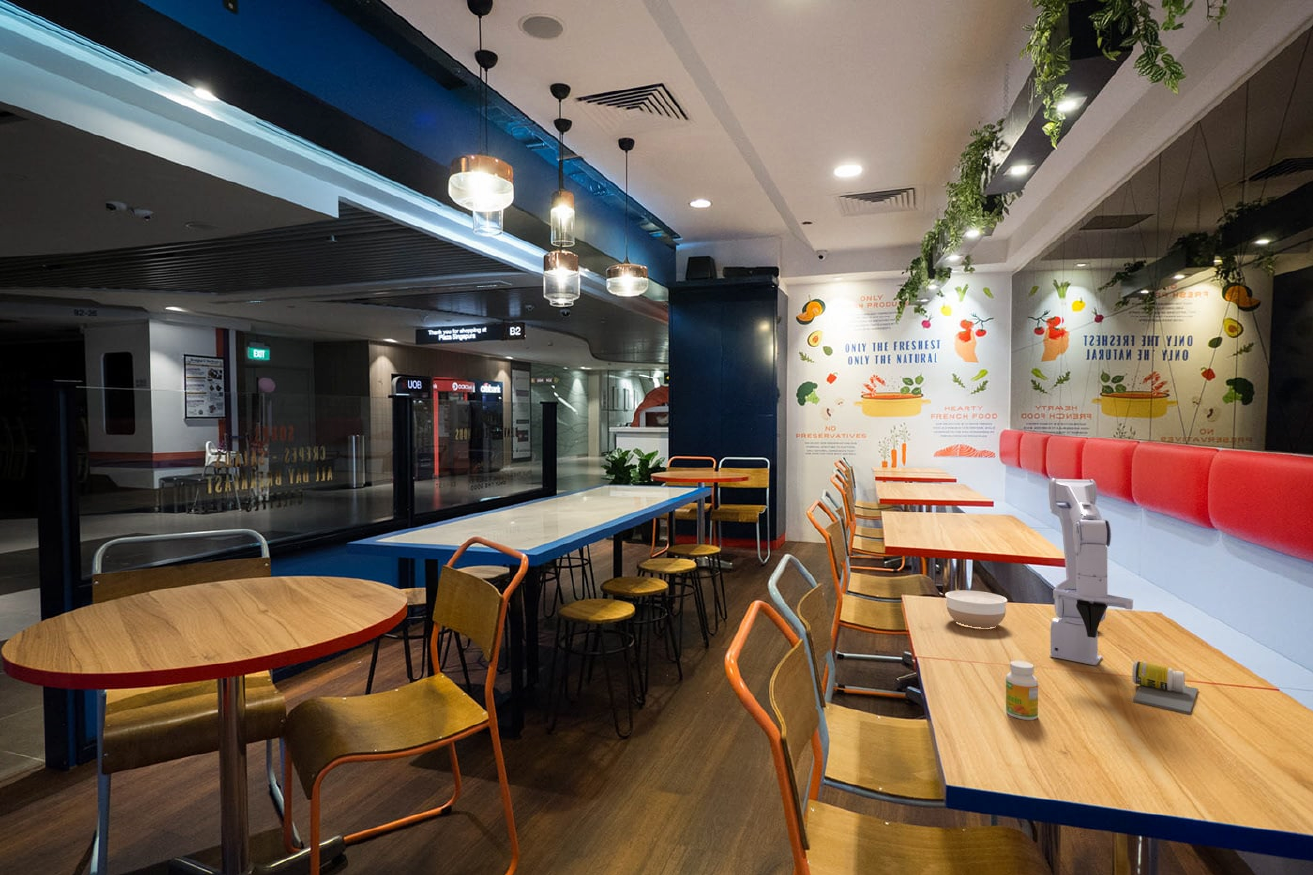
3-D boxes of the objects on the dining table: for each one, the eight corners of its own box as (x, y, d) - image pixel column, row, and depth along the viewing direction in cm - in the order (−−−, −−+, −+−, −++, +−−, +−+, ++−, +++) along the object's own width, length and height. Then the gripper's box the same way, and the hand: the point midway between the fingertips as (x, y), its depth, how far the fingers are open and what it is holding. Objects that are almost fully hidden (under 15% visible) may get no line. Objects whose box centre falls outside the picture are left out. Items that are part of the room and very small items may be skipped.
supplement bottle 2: (1131, 678, 139) (1181, 689, 133) (1133, 657, 141) (1183, 666, 135) (1134, 686, 142) (1184, 697, 136) (1136, 665, 144) (1186, 675, 138)
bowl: (953, 631, 181) (953, 602, 181) (938, 615, 197) (938, 589, 197) (1016, 633, 179) (1016, 604, 179) (996, 618, 194) (996, 591, 194)
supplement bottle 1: (999, 711, 128) (999, 661, 128) (1019, 707, 130) (1018, 657, 130) (1024, 722, 123) (1024, 670, 123) (1044, 717, 125) (1044, 666, 125)
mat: (1132, 701, 132) (1132, 699, 132) (1144, 680, 144) (1144, 677, 144) (1190, 714, 126) (1190, 711, 126) (1197, 690, 138) (1197, 688, 138)
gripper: (1049, 572, 147) (1049, 633, 147) (1128, 582, 137) (1129, 647, 137) (1057, 568, 152) (1057, 626, 152) (1134, 576, 142) (1134, 640, 142)
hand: (1092, 636), depth 145 cm, fingers closed
